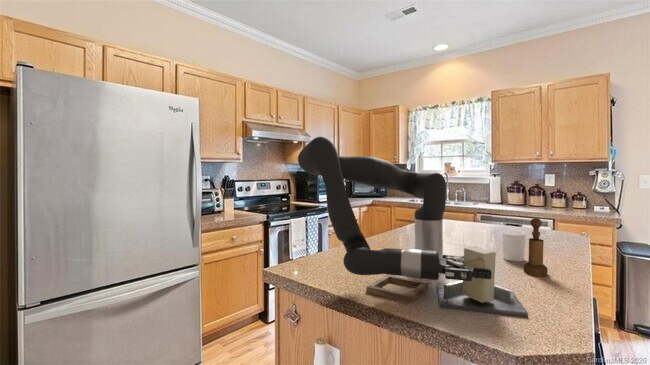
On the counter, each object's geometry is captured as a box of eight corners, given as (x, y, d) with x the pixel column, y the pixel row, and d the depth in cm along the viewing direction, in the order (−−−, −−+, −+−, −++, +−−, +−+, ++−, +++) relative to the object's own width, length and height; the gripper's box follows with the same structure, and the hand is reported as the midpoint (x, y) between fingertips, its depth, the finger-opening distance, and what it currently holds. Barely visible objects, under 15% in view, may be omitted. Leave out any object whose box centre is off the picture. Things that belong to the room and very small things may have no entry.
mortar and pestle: (551, 277, 100) (552, 220, 100) (528, 275, 101) (529, 219, 101) (541, 270, 107) (542, 217, 106) (520, 269, 108) (521, 216, 107)
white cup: (525, 258, 122) (526, 232, 122) (525, 263, 115) (525, 235, 115) (502, 255, 126) (502, 230, 126) (500, 260, 120) (501, 233, 119)
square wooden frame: (387, 279, 100) (387, 274, 100) (428, 288, 92) (428, 282, 92) (366, 291, 89) (366, 286, 89) (410, 302, 81) (410, 297, 81)
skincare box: (461, 294, 82) (462, 247, 82) (473, 291, 84) (474, 246, 84) (482, 303, 77) (483, 253, 76) (495, 300, 78) (496, 251, 78)
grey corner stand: (437, 285, 94) (437, 273, 94) (509, 292, 88) (510, 279, 88) (439, 307, 78) (439, 293, 78) (527, 317, 73) (528, 302, 73)
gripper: (419, 256, 77) (494, 262, 73) (419, 243, 91) (483, 248, 86) (418, 287, 78) (493, 294, 73) (419, 269, 91) (482, 275, 86)
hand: (488, 269), depth 80 cm, fingers open, 7 cm apart
